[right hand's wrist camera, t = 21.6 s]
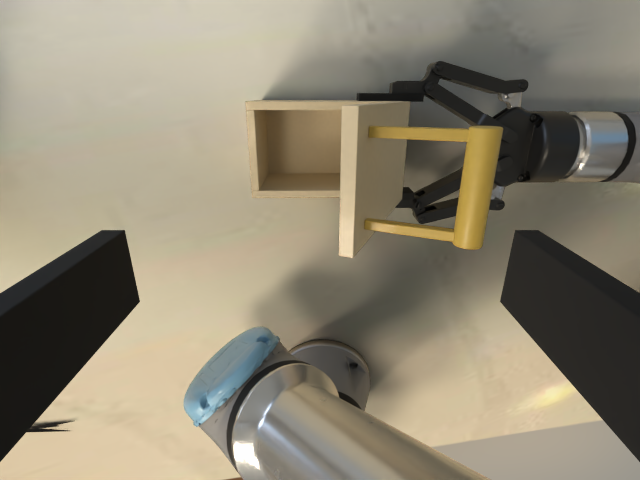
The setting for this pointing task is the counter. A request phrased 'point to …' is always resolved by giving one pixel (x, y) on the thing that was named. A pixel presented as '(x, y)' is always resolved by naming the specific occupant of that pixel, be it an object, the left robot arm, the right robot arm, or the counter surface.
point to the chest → (296, 147)
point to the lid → (388, 175)
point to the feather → (39, 428)
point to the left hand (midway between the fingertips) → (356, 147)
